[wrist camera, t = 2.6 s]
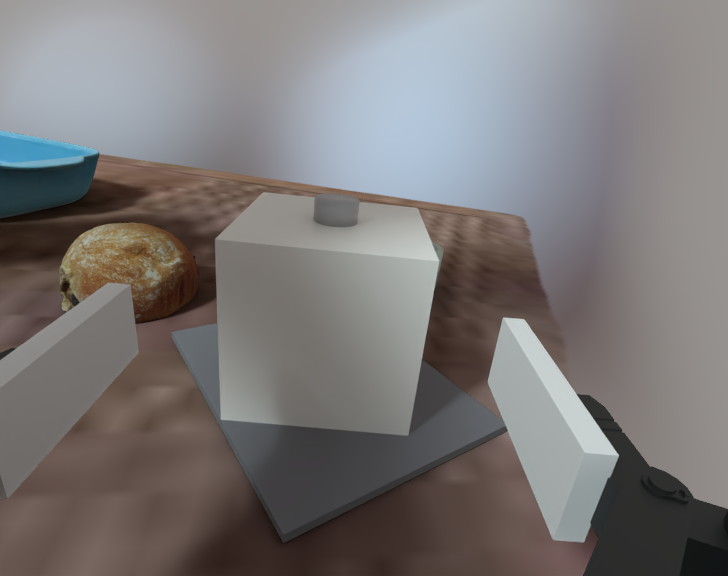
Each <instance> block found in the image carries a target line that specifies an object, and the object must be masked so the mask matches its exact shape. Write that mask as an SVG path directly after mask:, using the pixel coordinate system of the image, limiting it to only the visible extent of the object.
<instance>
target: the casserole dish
mask: <svg viewBox="0 0 728 576" xmlns="http://www.w3.org/2000/svg"><path fill="white" fill-rule="evenodd" d="M98 158H99V152H98V151H97V150H95V149H92V148H88V147H84V146H80V145H75V144H70V143H65V142H59V141H54V140H49V139H43V138H37V137H33V136H27V135H22V134H16V133H11V132H6V131H0V219H1V218H6V217H11V216H16V215H21V214H26V213H31V212H35V211H39V210H44V209H49V208H53V207H58V206H62V205H66V204H69V203H73V202H75V201H77V200H79V199H81V198H82V197H83V196H84V195H85V194H86V193H87V192H88V190H89V188H90V185H91V183H92V180H93V176H94V173H95V169H96V165H97V161H98Z"/></svg>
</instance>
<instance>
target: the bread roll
mask: <svg viewBox="0 0 728 576" xmlns="http://www.w3.org/2000/svg"><path fill="white" fill-rule="evenodd" d="M59 273H60V275H59V277H60V292H61V294H60V295H62V296H64V299H63V303H62V309H63V311H66V312H68V311H69V310H71V309H72V308H74V307H75V306H76V305H78V304H79V303H81V302H82V301H83V300H85V299H86V298H88V297H89V296H90V295H92V294H93V293H95V292H96V291H97V290H99V289H100V288H101V287H103V286H104V285H106V284H107V283H119V284H130V285H131V292H132V301H133V309H134V318H135V323H141V322H146V321H151V320H156V319H159V318H163V317H166V316H168V315H170V314H172V313H173V312H175V311H177V310H178V309H179V308H181V307H183V306H184V305H186V304H187V303H188V302H190V301H191V300H192V299H193V298H194V296H195V293H196V291H197V289H198V287H199V279H198V278H199V269H198V267H197V264H196V262H195V256H193V255H192V254H191V252H190V251H189V250H188V248H187V247H186V246H185V245H184V244H183V243H182V242H181V241H180V240H178V239H177V238H176V237H175V236H174V235H172V234H171V233H169V232H167V231H165V230H162V229H160V228H157V227H155V226H152V225H148V224H143V223H134V222H132V223H114V224H105V225H101V226H98V227H95V228H93V229H92V230H88V231H86V232H85V233H83V234H82V235H80V236H79V237H78V238H77V239H76V240H75V241H74V242H73V243H72V244H71V246H70V247H69V249H68V251H67V253H66V255H65V256H64V258H63V260H62V265H61V266H60V268H59Z"/></svg>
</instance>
